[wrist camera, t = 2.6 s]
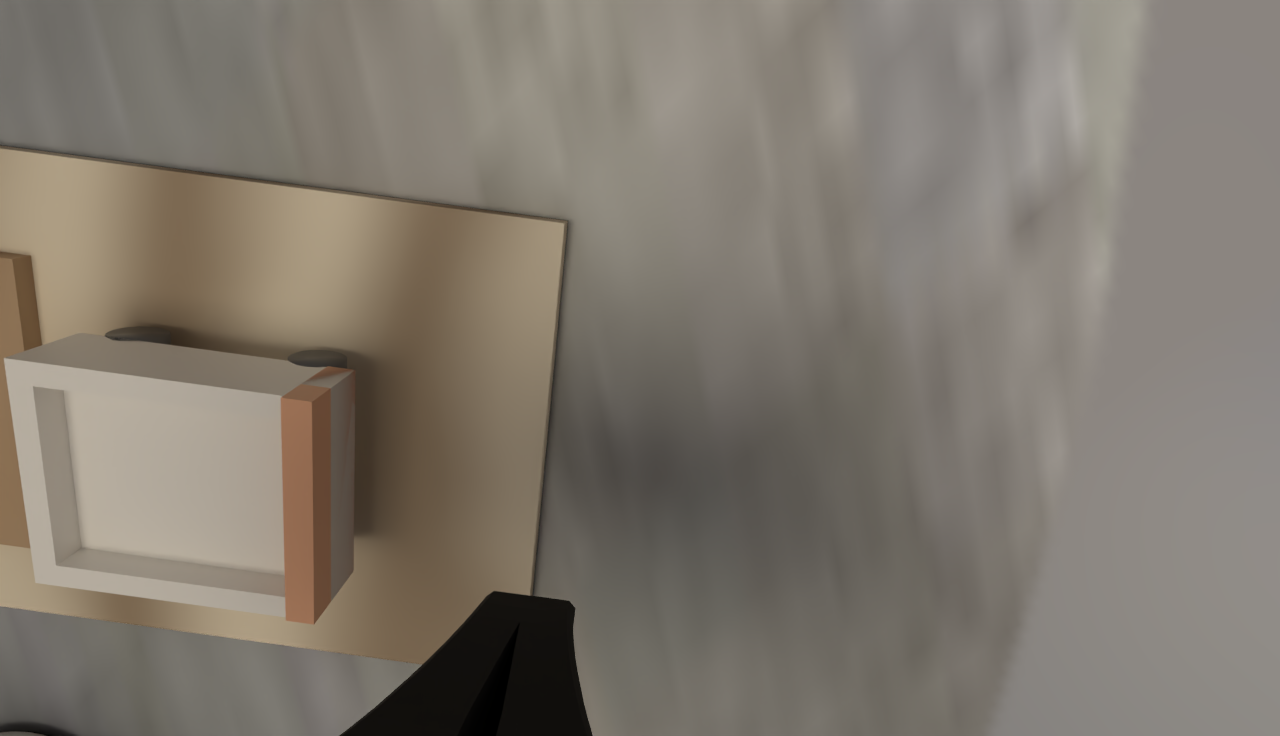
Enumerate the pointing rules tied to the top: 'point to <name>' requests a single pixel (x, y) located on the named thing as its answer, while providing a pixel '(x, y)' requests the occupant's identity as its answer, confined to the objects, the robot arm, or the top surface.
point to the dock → (299, 321)
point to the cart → (187, 471)
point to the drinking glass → (19, 733)
